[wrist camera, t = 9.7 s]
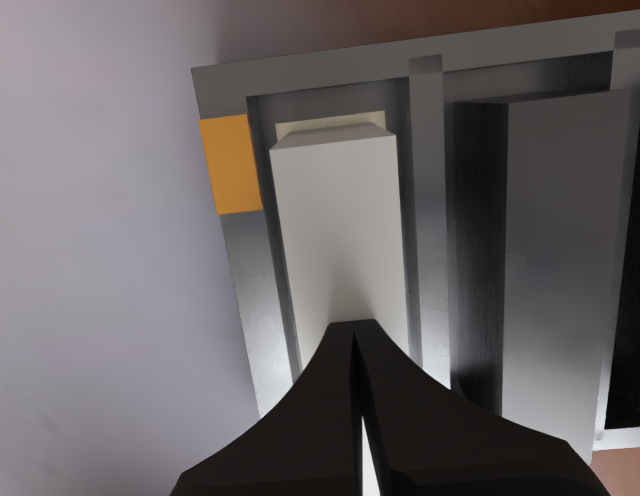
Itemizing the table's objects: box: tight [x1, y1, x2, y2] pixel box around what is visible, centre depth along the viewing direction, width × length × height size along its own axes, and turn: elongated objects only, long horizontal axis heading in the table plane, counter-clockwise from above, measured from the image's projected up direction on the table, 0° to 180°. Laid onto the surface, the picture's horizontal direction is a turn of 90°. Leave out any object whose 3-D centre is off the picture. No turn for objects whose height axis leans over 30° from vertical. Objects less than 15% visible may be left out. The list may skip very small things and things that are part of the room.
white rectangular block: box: [269, 122, 409, 496], centre depth 15 cm, size 12×3×6 cm, turn 7°
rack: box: [191, 9, 640, 465], centre depth 16 cm, size 16×20×6 cm
